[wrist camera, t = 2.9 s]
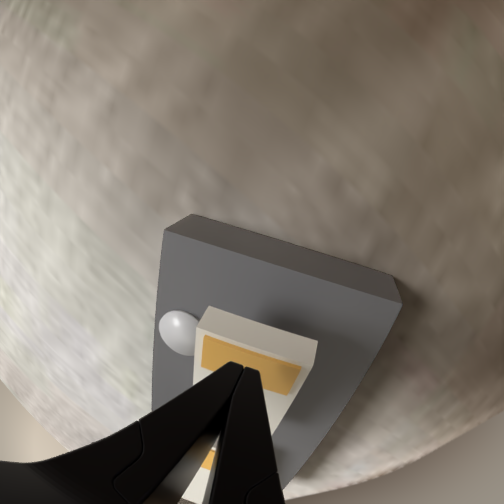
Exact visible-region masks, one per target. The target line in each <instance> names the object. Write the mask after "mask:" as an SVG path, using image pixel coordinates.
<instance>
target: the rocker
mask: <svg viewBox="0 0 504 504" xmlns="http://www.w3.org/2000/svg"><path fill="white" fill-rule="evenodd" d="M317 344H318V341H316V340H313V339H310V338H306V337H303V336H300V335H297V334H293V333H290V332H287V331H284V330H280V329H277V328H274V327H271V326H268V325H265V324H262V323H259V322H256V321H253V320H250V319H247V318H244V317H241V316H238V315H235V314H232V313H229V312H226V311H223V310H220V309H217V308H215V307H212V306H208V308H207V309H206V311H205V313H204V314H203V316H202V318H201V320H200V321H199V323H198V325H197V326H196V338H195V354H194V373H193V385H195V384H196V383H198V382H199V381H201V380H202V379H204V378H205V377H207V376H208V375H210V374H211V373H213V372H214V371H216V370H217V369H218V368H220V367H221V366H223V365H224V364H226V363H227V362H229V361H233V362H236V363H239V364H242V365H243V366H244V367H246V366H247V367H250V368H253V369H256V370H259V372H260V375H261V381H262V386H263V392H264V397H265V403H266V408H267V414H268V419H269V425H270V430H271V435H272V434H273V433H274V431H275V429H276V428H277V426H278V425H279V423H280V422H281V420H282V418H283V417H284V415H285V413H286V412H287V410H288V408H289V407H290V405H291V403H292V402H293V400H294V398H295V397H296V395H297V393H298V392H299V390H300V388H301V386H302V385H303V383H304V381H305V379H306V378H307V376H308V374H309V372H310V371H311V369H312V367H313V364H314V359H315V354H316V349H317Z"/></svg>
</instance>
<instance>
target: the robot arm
mask: <svg viewBox="0 0 504 504" xmlns="http://www.w3.org/2000/svg"><path fill="white" fill-rule="evenodd" d="M219 434H220V435H219ZM218 436H219V439H218V442H217V446H216V450H215V454H214V458H213V462H212V466H211V470H210V474H209V478H208V482H207V486H206V490H205V494H204V498H203V502H202V504H285V500H284V495H283V491H282V487H281V482H280V477H279V473H277V472H278V467H277V462H276V457H275V451H274V446H273V441H272V435H271V430H270V425H269V419H268V414H267V408H266V403H265V397H264V392H263V386H262V381H261V375H260V372H259V370H256V369H253V368H250V367H247V366H246V367H244V366H243V365H242V364H239V363H236V362H233V361H229V362H227V363H226V364H224V365H223V366H221V367H220V368H218V369H217V370H216V371H214V372H213V373H211V374H210V375H208V376H207V377H205V378H204V379H202V380H201V381H199V382H198V383H196V384H195V385H193V386H192V387H190V388H188V389H187V390H185V391H184V392H182V393H181V394H179V395H178V396H176V397H174V398H173V399H171V400H170V401H168V402H167V403H165V404H163V405H162V406H160V407H159V408H157V409H155V410H154V411H152V412H150V413H149V414H147V415H145V416H144V417H142V418H140V419H139V421H135V422H134V423H132V424H130V425H128V426H127V427H125V428H123V429H121V430H119V431H118V432H116V433H114V434H112V435H110V436H108V437H106V438H103V439H101V440H99V441H96V442H92V443H91V444H89V445H86V446H84V447H81V448H78V449H76V450H73V451H70V452H67V453H65V454H62V455H59V456H56V457H53V458H50V459H47V460H44V461H38V462H32V463H19V462H8V461H0V504H178V502H179V500H180V499H181V497H182V496H183V494H184V493H185V491H186V489H187V488H188V486H189V485H190V483H191V481H192V480H193V478H194V477H195V475H196V473H197V472H198V470H199V468H200V467H201V465H202V463H203V462H204V460H205V459H206V457H207V455H208V454H209V452H210V450H211V448H212V447H213V445H214V443H215V442H216V440H217V438H218Z"/></svg>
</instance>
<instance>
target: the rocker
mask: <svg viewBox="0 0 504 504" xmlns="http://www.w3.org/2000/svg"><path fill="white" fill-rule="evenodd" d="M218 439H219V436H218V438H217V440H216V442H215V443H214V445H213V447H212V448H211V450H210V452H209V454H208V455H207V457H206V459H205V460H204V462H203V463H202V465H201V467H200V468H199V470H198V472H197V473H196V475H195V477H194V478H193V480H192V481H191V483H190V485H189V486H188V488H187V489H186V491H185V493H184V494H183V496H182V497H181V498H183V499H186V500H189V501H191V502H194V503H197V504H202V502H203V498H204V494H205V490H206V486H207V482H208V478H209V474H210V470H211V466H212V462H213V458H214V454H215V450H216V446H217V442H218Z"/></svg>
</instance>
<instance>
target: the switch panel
mask: <svg viewBox="0 0 504 504" xmlns="http://www.w3.org/2000/svg"><path fill="white" fill-rule="evenodd" d="M402 305H403V303H402V300H401V298H400V295H399V292H398V289H397V287H396V284H395V281H394V279H393V276H392V275H389V274H386V273H383V272H379V271H376V270H373V269H370V268H367V267H364V266H361V265H358V264H354V263H351V262H348V261H345V260H342V259H339V258H335V257H332V256H329V255H326V254H323V253H320V252H316V251H313V250H310V249H307V248H303V247H300V246H297V245H294V244H290V243H287V242H284V241H281V240H277V239H274V238H271V237H268V236H264V235H261V234H258V233H254V232H251V231H248V230H244V229H241V228H238V227H234V226H231V225H228V224H224V223H221V222H217V221H214V220H211V219H207V218H204V217H200V216H197V215H194V214H190V215H189V216H187V217H185V218H183V219H182V220H180V221H178V222H176V223H175V224H173V225H171V226H170V227H168V228H166V229H164V234H163V242H162V251H161V260H160V269H159V279H158V290H157V302H156V314H155V329H154V347H153V370H152V411H154V410H155V409H157V408H159V407H160V406H162V405H163V404H165V403H167V402H168V401H170V400H171V399H173V398H174V397H176V396H178V395H179V394H181V393H182V392H184V391H185V390H187V389H188V388H190V387H192V386H193V373H194V354H195V338H196V326H197V325H198V323H199V321H200V320H201V318H202V316H203V314H204V313H205V311H206V309H207V308H208V306H212V307H215V308H217V309H220V310H223V311H226V312H229V313H232V314H235V315H238V316H241V317H244V318H247V319H250V320H253V321H256V322H259V323H262V324H265V325H268V326H271V327H274V328H277V329H280V330H284V331H287V332H290V333H293V334H297V335H300V336H303V337H306V338H310V339H313V340H316V341H318V344H317V349H316V354H315V359H314V364H313V367H312V369H311V371H310V372H309V374H308V376H307V378H306V379H305V381H304V383H303V385H302V386H301V388H300V390H299V392H298V393H297V395H296V397H295V398H294V400H293V402H292V403H291V405H290V407H289V408H288V410H287V412H286V413H285V415H284V417H283V418H282V420H281V422H280V423H279V425H278V426H277V428H276V429H275V431H274V433H273V434H272V441H273V446H274V451H275V457H276V462H277V467H278V472H277V473H279V477H280V482H281V487H282V490H283V489H284V488H285V487H286V486H287V484H288V483H289V482H290V481H291V480H292V478H293V477H294V476H295V475H296V474H297V472H298V471H299V470H300V469H301V467H302V466H303V465H304V463H305V462H306V461H307V460H308V458H309V457H310V456H311V454H312V453H313V452H314V450H315V449H316V448H317V446H318V445H319V444H320V442H321V441H322V440H323V438H324V437H325V435H326V434H327V433H328V431H329V430H330V428H331V427H332V425H333V424H334V423H335V421H336V420H337V418H338V417H339V415H340V414H341V412H342V411H343V409H344V408H345V406H346V405H347V403H348V401H349V400H350V398H351V397H352V395H353V394H354V392H355V390H356V389H357V387H358V386H359V384H360V382H361V381H362V379H363V377H364V376H365V374H366V372H367V371H368V369H369V367H370V366H371V364H372V362H373V360H374V359H375V357H376V355H377V353H378V351H379V350H380V348H381V346H382V344H383V342H384V340H385V339H386V337H387V335H388V333H389V331H390V329H391V327H392V325H393V323H394V321H395V319H396V317H397V315H398V313H399V311H400V309H401V307H402ZM219 435H220V434H219Z"/></svg>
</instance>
